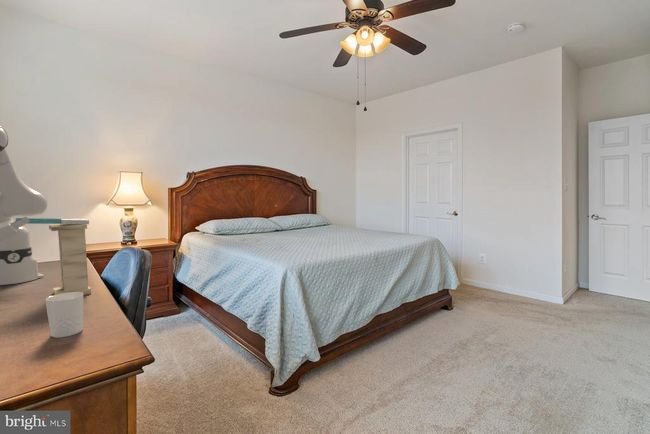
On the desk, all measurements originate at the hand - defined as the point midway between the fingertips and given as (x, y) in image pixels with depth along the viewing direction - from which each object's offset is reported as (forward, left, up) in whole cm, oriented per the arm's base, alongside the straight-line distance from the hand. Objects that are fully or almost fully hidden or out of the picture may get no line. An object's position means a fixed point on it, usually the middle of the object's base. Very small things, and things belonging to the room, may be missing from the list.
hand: (28, 218), depth 114 cm
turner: (0, +7, -2) cm, 7 cm away
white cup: (+44, +5, -29) cm, 53 cm away
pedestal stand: (0, +11, -29) cm, 31 cm away
